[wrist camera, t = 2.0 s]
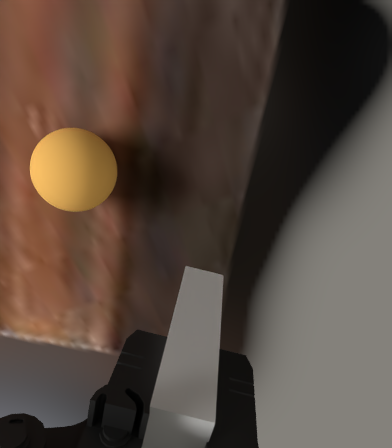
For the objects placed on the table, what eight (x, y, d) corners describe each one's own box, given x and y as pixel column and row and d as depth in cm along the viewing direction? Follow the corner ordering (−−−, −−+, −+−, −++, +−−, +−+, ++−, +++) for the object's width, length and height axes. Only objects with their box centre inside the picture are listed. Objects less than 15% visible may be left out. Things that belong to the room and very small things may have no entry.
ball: (56, 114, 26) (13, 124, 21) (132, 133, 26) (106, 147, 21) (51, 187, 28) (11, 212, 23) (121, 204, 28) (96, 233, 23)
